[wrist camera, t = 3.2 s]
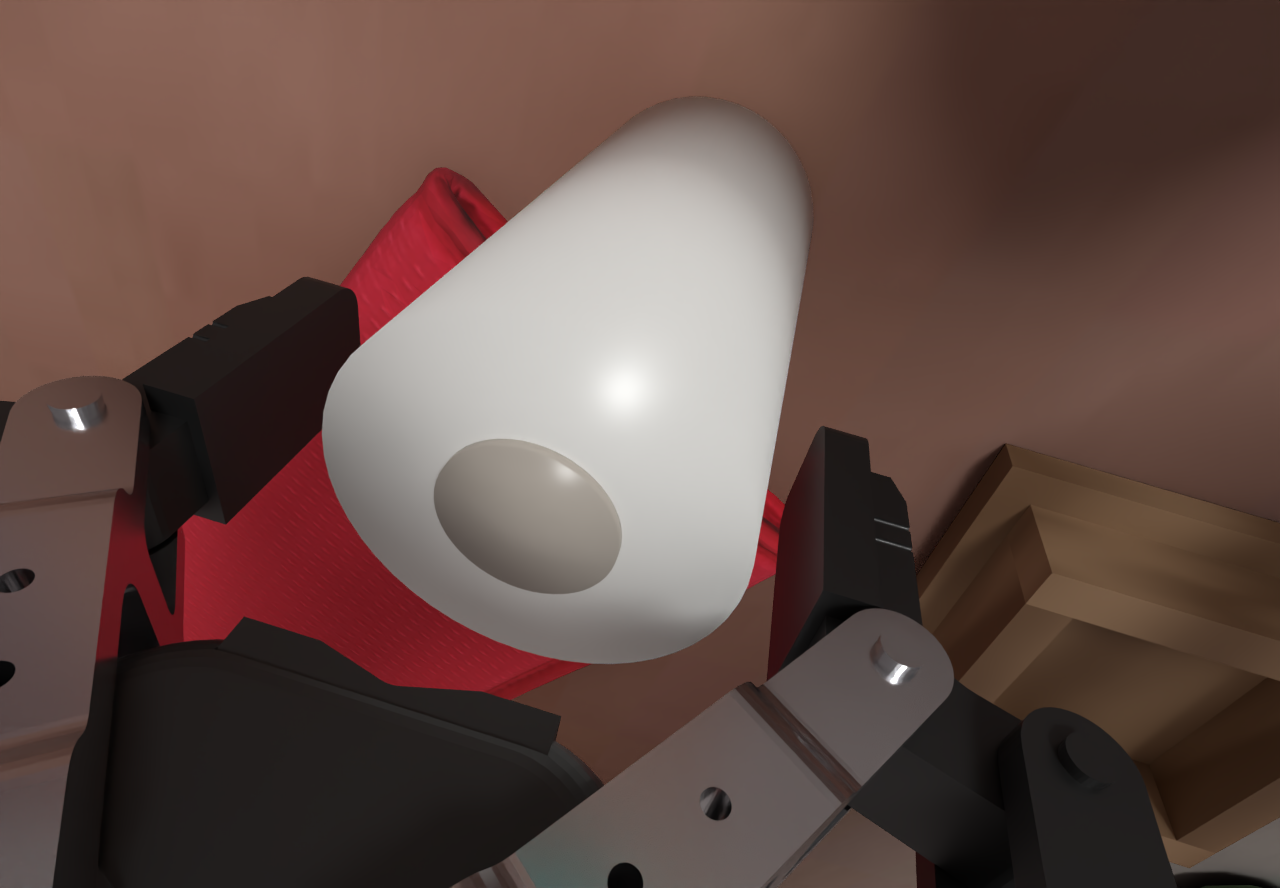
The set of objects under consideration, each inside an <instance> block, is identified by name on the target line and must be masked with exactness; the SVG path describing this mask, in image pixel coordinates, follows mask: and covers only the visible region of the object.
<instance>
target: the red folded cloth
mask: <svg viewBox="0 0 1280 888" xmlns="http://www.w3.org/2000/svg"><path fill="white" fill-rule="evenodd" d="M507 222H508V221H507V220H506V219H505V218H504V217H503V216H502V215H501V214H500V213H499V212H498V210H497V209H496V208H495V207H494V206H493V205H492V204H491V203H490V202H489V200H488V199H487V198H486V197H485V196H484V195H483V194H482V193H481V191H480V190H479V189H478V188H477V187H476V186H475V185H474V184H473V183H472V182H471V181H469V180H468V179H466V178H465V177H464V176H462V175H460V174H458V173H456V172H454V171H452V170H450V169H448V168H435V169H434V170H433V171H432V172H430V173H429V174H428V175H427V177H426V179H425V180H424V182H423V184H422V185H421V187H420V188H419V189H418V191H417V192H416V193H415V194H414V195H413V196H411V197H410V198H409V199H408V200H407V201H406V202H405V203H404V204H403V205H402V206H401V207H400V208H399V209H398V210H397V211H396V212H395V213H394V214H393V216H392V217H391V219H390V220H389V221H388V223H387V224H386V225H385V226H384V227H383V228H382V229H381V230H380V232H379V233H378V235H377V236H376V237H375V239H374V240H373V242H372V243H371V244H370V246H369V247H368V249H367V250H366V251H365V253H364V254H363V255H362V257H361V258H360V259H359V261H358V262H357V263H356V265H355V266H354V267H353V269H352V270H351V271H350V273H349V274H348V275H347V277H346V278H345V279H344V281H343V282H342V283H341V285H340V286H342V287H345V288H349V289H351V290H352V291H353V292H354V293H355V295H356V297H357V301H358V313H359V328H360V343H361V345H362V344H364V343H365V342H366V341H367V340H368V339H369V338H370V337H372V336H373V335H374V334H375V333H376V332H378V331H379V330H380V329H381V328H382V327H384V326H385V325H386V324H387V323H388V322H390V321H391V320H392V319H393V318H394V317H395V316H397V315H398V314H399V313H400V312H401V311H403V310H404V309H405V308H406V307H407V306H409V305H410V304H411V303H412V302H413V301H415V300H416V299H417V298H418V297H419V296H420V295H422V294H423V293H424V292H425V291H426V290H428V289H429V288H430V287H431V286H432V285H434V284H435V283H436V282H437V281H438V280H439V279H441V278H442V277H443V276H444V275H445V274H447V273H448V272H449V271H450V270H451V269H453V268H454V267H455V266H456V265H457V264H459V263H460V262H461V261H462V260H463V259H464V258H466V257H467V256H468V255H469V254H470V253H472V252H473V251H474V250H475V249H476V248H478V247H479V246H480V245H481V244H482V243H484V242H485V241H486V240H487V239H488V238H489V237H491V236H492V235H493V234H494V233H495V232H497V231H498V230H499V229H500V228H501V227H503V226H504V225H505V224H506V223H507ZM784 507H785V504H783V503H782V502H781V501H780V500H779V499H778V498H777V497H776V496H775V495H774V494H773V493H771V492H770V491H769V490H768V489H767V494H766V500H765V505H764V511H763V517H762V522H761V528H760V534H759V539H758V545H757V551H756V557H755V562H754V567H753V570H752V574H751V577H750V581H749V584H748V586H747V588H746V589H748V588H750V587H752V586H754V585H755V584H757V583H759V582H761V581H763V580H765V579H767V578H769V577H771V576H773V575H775V574H776V563H777V551H778V539H779V528H780V523H781V518H782V514H783V510H784ZM182 529H183V532H184V535H185V574H184V620H183V635H184V642H186V641H193V640H211V639H223V640H224V639H225V638H226V637H227V636H228V635H229V634H230V632H231V631H232V630H233V629H234V628H235V626H236V625H237V624H238V623H239V622H240V621H241V619H242V618H243V617H244V616H245V617H248V618H251V619H254V620H257V621H261V622H264V623H267V624H270V625H273V626H276V627H280V628H283V629H286V630H289V631H292V632H295V633H299V634H302V635H305V636H308V637H311V638H314V639H318V640H321V641H322V642H324V643H325V644H327V645H328V646H330V647H331V648H333V649H334V650H336V651H338V652H339V653H341V654H342V655H344V656H345V657H347V658H348V659H350V660H351V661H353V662H354V663H356V664H357V665H359V666H361V667H362V668H364V669H365V670H367V671H368V672H370V673H371V674H373V675H374V676H376V677H377V678H379V679H380V680H382V681H384V682H386V683H388V684H391V685H396V686H408V687H423V688H439V689H454V690H469V691H482V692H486V693H489V694H492V695H495V696H498V697H501V698H505V699H508V700H511V699H513V698H516V697H518V696H520V695H522V694H524V693H526V692H528V691H530V690H532V689H535V688H537V687H539V686H541V685H544V684H546V683H548V682H550V681H553V680H555V679H557V678H559V677H562V676H564V675H566V674H569V673H571V672H573V671H576V670H578V669H580V668H583V667H585V666H588V665H590V664H591V663H580V662H572V661H564V660H559V659H554V658H549V657H544V656H540V655H537V654H533V653H530V652H526V651H523V650H519V649H516V648H514V647H511V646H508V645H505V644H503V643H500V642H497V641H495V640H493V639H490V638H488V637H486V636H484V635H482V634H479V633H477V632H475V631H473V630H471V629H469V628H467V627H466V626H464V625H462V624H460V623H458V622H456V621H455V620H453V619H451V618H450V617H448V616H446V615H445V614H443V613H442V612H440V611H439V610H437V609H436V608H434V607H432V606H431V605H430V604H428V603H427V602H426V601H424V600H423V599H422V598H420V597H419V596H418V595H416V594H415V593H414V592H412V591H411V590H410V589H409V588H408V587H407V586H405V585H404V584H403V583H402V582H401V581H400V580H399V579H398V578H396V577H395V576H394V575H393V574H392V573H391V572H390V571H389V570H388V569H387V568H386V567H385V566H384V565H383V564H382V562H381V561H380V560H379V559H378V558H377V557H376V556H375V555H374V554H373V552H372V551H371V550H370V549H369V547H368V546H367V545H366V544H365V542H364V541H363V540H362V539H361V537H360V536H359V534H358V533H357V531H356V530H355V528H354V527H353V525H352V524H351V522H350V521H349V519H348V518H347V516H346V514H345V512H344V510H343V508H342V506H341V504H340V502H339V500H338V498H337V496H336V493H335V491H334V488H333V486H332V483H331V480H330V478H329V474H328V470H327V466H326V462H325V458H324V451H323V441H322V430H321V431H320V432H319V433H318V434H317V435H316V436H315V437H314V438H313V439H312V440H311V441H310V442H309V443H308V444H307V445H306V446H305V447H304V448H303V449H302V450H301V451H300V452H299V453H298V454H297V455H296V456H295V457H294V458H293V459H292V460H291V461H290V462H289V463H288V464H287V465H286V466H285V467H284V468H283V469H282V470H281V471H280V472H279V473H278V474H277V475H276V476H275V477H274V478H273V479H272V480H271V481H270V482H269V483H268V484H267V485H266V486H264V487H263V488H262V489H261V490H260V491H259V492H258V493H257V494H256V495H255V496H254V497H253V498H252V499H251V500H250V501H249V502H248V503H247V504H246V505H245V506H244V507H243V508H242V509H241V510H240V511H239V512H238V513H237V514H236V515H235V516H234V517H233V518H232V519H231V520H230V521H229V522H228V523H227V524H226V525H225V524H222V523H219V522H215V521H212V520H209V519H206V518H202V517H199V516H196V515H193V516H192V517H191V518H190V519H189V520H187V521H186V522H185V523H184V524H183V525H182Z"/></svg>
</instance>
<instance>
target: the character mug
mask: <svg viewBox="0 0 1280 888" xmlns="http://www.w3.org/2000/svg"><path fill="white" fill-rule="evenodd" d="M1202 888H1261V887H1257V886H1252V885H1227V886H1205V887H1202Z"/></svg>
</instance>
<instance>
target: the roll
mask: <svg viewBox="0 0 1280 888" xmlns="http://www.w3.org/2000/svg"><path fill="white" fill-rule="evenodd" d="M813 221H814V216H813V200H812V193H811V188H810V185H809V181H808V178H807V175H806V172H805V170H804V168H803V165H802V163H801V161H800V159H799V157H798V156H797V154H796V152H795V151H794V149H793V148H792V146H791V145H790V143H789V142H788V141H787V140H786V139H785V137H784V136H783V135H782V134H781V133H780V132H779V131H778V130H777V129H776V128H775V127H774V126H773V125H772V124H770V123H769V122H768V121H767V120H765V119H764V118H762V117H761V116H759V115H758V114H756V113H755V112H753V111H751V110H749V109H747V108H745V107H743V106H741V105H739V104H736V103H733V102H729V101H726V100H723V99H717V98H711V97H683V98H676V99H672V100H668V101H665V102H661V103H658V104H656V105H654V106H652V107H649V108H647V109H645V110H643V111H642V112H640V113H639V114H637V115H636V116H634V117H632V118H631V119H630V120H629V121H627V122H626V123H625V124H624V125H623V126H622V127H620V128H619V129H618V130H617V131H616V132H614V133H613V134H612V135H611V136H610V137H608V138H607V139H606V140H605V141H604V142H602V143H601V144H600V145H599V146H598V147H597V148H595V149H594V150H593V151H592V152H591V153H589V154H588V155H587V156H586V157H585V158H583V159H582V160H581V161H580V162H579V163H578V164H576V165H575V166H574V167H573V168H572V169H570V170H569V171H568V172H567V173H566V174H564V175H563V176H562V177H561V178H560V179H558V180H557V181H556V182H555V183H554V184H553V185H551V186H550V187H549V188H548V189H547V190H545V191H544V192H543V193H542V194H541V195H539V196H538V197H537V198H536V199H535V200H533V201H532V202H531V203H530V204H529V205H528V206H526V207H525V208H524V209H523V210H522V211H520V212H519V213H518V214H517V215H516V216H514V217H513V218H512V219H511V220H510V221H508V222H507V223H506V224H505V225H504V226H503V227H501V228H500V229H499V230H498V231H497V232H495V233H494V234H493V235H492V236H491V237H489V238H488V239H487V240H486V241H485V242H484V243H482V244H481V245H480V246H479V247H478V248H476V249H475V250H474V251H473V252H472V253H470V254H469V255H468V256H467V257H466V258H464V259H463V260H462V261H461V262H460V263H459V264H457V265H456V266H455V267H454V268H453V269H451V270H450V271H449V272H448V273H447V274H445V275H444V276H443V277H442V278H441V279H439V280H438V281H437V282H436V283H435V284H434V285H432V286H431V287H430V288H429V289H428V290H426V291H425V292H424V293H423V294H422V295H420V296H419V297H418V298H417V299H416V300H415V301H413V302H412V303H411V304H410V305H409V306H407V307H406V308H405V309H404V310H403V311H401V312H400V313H399V314H398V315H397V316H395V317H394V318H393V319H392V320H391V321H390V322H388V323H387V324H386V325H385V326H384V327H382V328H381V329H380V330H379V331H378V332H376V333H375V334H374V335H373V336H372V337H370V338H369V339H368V340H367V341H366V342H365V343H364V344H362V345H361V346H360V347H359V348H358V349H357V350H356V351H355V352H353V353H352V354H351V355H350V357H349V358H348V359H347V361H346V362H345V363H344V365H343V366H342V367H341V369H340V370H339V371H338V373H337V375H336V377H335V379H334V381H333V383H332V385H331V388H330V390H329V392H328V396H327V400H326V404H325V408H324V411H323V424H322V441H323V451H324V458H325V462H326V466H327V470H328V474H329V478H330V480H331V483H332V486H333V488H334V491H335V493H336V496H337V498H338V500H339V502H340V504H341V506H342V508H343V510H344V512H345V514H346V516H347V518H348V519H349V521H350V522H351V524H352V525H353V527H354V528H355V530H356V531H357V533H358V534H359V536H360V537H361V539H362V540H363V541H364V542H365V544H366V545H367V546H368V547H369V549H370V550H371V551H372V552H373V554H374V555H375V556H376V557H377V558H378V559H379V560H380V561H381V562H382V564H383V565H384V566H385V567H386V568H387V569H388V570H389V571H390V572H391V573H392V574H393V575H394V576H395V577H396V578H398V579H399V580H400V581H401V582H402V583H403V584H404V585H405V586H407V587H408V588H409V589H410V590H411V591H412V592H414V593H415V594H416V595H418V596H419V597H420V598H422V599H423V600H424V601H426V602H427V603H428V604H430V605H431V606H432V607H434V608H436V609H437V610H439V611H440V612H442V613H443V614H445V615H446V616H448V617H450V618H451V619H453V620H455V621H456V622H458V623H460V624H462V625H464V626H466V627H467V628H469V629H471V630H473V631H475V632H477V633H479V634H482V635H484V636H486V637H488V638H490V639H493V640H495V641H497V642H500V643H503V644H505V645H508V646H511V647H514V648H516V649H519V650H523V651H526V652H530V653H533V654H537V655H540V656H544V657H549V658H554V659H559V660H564V661H572V662H580V663H591V664H619V663H633V662H639V661H645V660H650V659H656V658H659V657H662V656H666V655H669V654H672V653H676V652H678V651H680V650H682V649H684V648H687V647H689V646H691V645H693V644H695V643H697V642H698V641H700V640H701V639H703V638H704V637H706V636H708V635H709V634H711V633H712V632H713V631H714V630H715V629H716V628H718V627H719V626H720V625H721V624H722V623H723V622H724V621H725V620H726V619H727V618H728V617H729V616H730V614H731V613H732V612H733V610H734V609H735V608H736V606H737V605H738V604H739V602H740V600H741V598H742V596H743V594H744V592H745V590H746V588H747V586H748V584H749V581H750V577H751V574H752V570H753V567H754V562H755V557H756V551H757V545H758V539H759V534H760V528H761V522H762V517H763V511H764V505H765V500H766V494H767V488H768V482H769V477H770V471H771V465H772V460H773V454H774V448H775V443H776V437H777V431H778V425H779V420H780V414H781V408H782V403H783V397H784V391H785V386H786V380H787V374H788V368H789V363H790V357H791V351H792V346H793V340H794V334H795V329H796V323H797V317H798V311H799V306H800V300H801V294H802V289H803V283H804V277H805V271H806V266H807V260H808V254H809V249H810V243H811V237H812V230H813Z"/></svg>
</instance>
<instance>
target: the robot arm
mask: <svg viewBox="0 0 1280 888" xmlns="http://www.w3.org/2000/svg"><path fill="white" fill-rule="evenodd" d="M360 346H361V343H360V328H359V313H358V301H357V297H356V295H355V293H354V292H353V291H352V290H351V289H349V288H345V287H342V286H338V285H335V284H331V283H328V282H324V281H321V280H317V279H314V278H310V277H303V278H301V279H299V280H297V281H296V282H294V283H293V284H291V285H290V286H288V287H287V288H285V289H284V290H282V291H281V292H279V293H278V294H276V295H275V296H273V297H270V296H268V297H264V298H261V299H258V300H255V301H251V302H248V303H245V304H242V305H238V306H236V307H234V308H233V309H231V310H230V311H228V312H227V313H225V314H223V315H222V316H220V317H219V318H217V319H216V320H214V321H213V324H212V325H209V324H208V325H206V326H205V327H203V328H202V329H200V330H199V331H197V332H195V333H194V334H193V338H190V337H188V338H186V339H185V340H183V341H181V342H180V343H178V344H177V345H175V346H174V347H172V348H170V349H169V350H167V351H166V352H164V353H163V354H161V355H160V356H158V357H156V358H155V359H153V360H152V361H150V362H149V363H147V364H146V365H144V366H142V367H141V368H139V369H138V370H136V371H135V372H133V373H132V374H130V375H128V376H127V377H125V378H124V379H122V380H120V379H117V378H112V377H106V376H80V377H72V378H66V379H61V380H58V381H54V382H50V383H48V384H45V385H42V386H40V387H38V388H36V389H33V390H31V391H30V392H28V393H27V394H25V395H23V396H22V397H21V398H20V399H19V400H17V401H16V402H8V401H0V888H777V887H778V886H779V885H780V884H781V883H782V882H783V881H784V880H785V879H786V878H787V877H788V876H789V875H790V874H791V872H792V871H793V870H794V869H795V868H796V867H797V866H798V865H799V864H800V863H801V862H802V861H803V860H804V859H805V858H806V857H807V856H808V854H809V853H810V852H811V851H812V850H813V849H814V848H815V847H816V846H817V845H818V844H819V843H820V842H821V841H822V840H823V839H824V838H825V836H826V835H827V834H828V833H829V832H830V831H831V830H832V829H833V828H834V827H835V826H836V825H837V824H838V823H839V822H840V821H841V820H842V818H843V817H844V816H845V815H846V814H847V813H848V812H849V811H850V810H851V809H852V808H853V809H854V810H856V811H857V812H859V813H860V814H862V815H863V816H865V817H866V818H868V819H869V820H870V821H872V822H873V823H875V824H876V825H878V826H879V827H881V828H882V829H884V830H885V831H887V832H888V833H890V834H891V835H893V836H894V837H895V838H897V839H898V840H900V841H901V842H903V843H904V844H906V845H907V846H909V847H910V848H912V849H913V850H915V851H916V874H917V888H1177V885H1176V882H1175V879H1174V876H1173V873H1172V869H1171V866H1170V863H1169V860H1168V856H1167V853H1166V850H1165V847H1164V844H1163V840H1162V837H1161V834H1160V831H1159V827H1158V824H1157V821H1156V818H1155V815H1154V811H1153V808H1152V805H1151V802H1150V798H1149V795H1148V792H1147V789H1146V786H1145V783H1144V781H1143V778H1142V776H1141V774H1140V772H1139V770H1138V768H1137V767H1136V765H1135V764H1134V762H1133V761H1132V759H1131V758H1130V756H1129V755H1128V754H1127V753H1126V751H1125V750H1124V749H1123V748H1122V747H1121V746H1120V745H1119V744H1118V743H1117V742H1116V741H1115V740H1114V739H1113V738H1112V737H1111V736H1110V735H1109V734H1108V733H1106V732H1105V731H1104V730H1103V729H1102V728H1100V727H1099V726H1097V725H1096V724H1094V723H1093V722H1091V721H1090V720H1088V719H1086V718H1084V717H1082V716H1081V715H1078V714H1076V713H1074V712H1071V711H1068V710H1064V709H1061V708H1054V707H1044V708H1039V709H1036V710H1034V711H1032V712H1031V713H1029V714H1028V715H1027V716H1026V717H1025V718H1024V719H1023V720H1020V719H1018V718H1016V717H1015V716H1013V715H1011V714H1010V713H1008V712H1006V711H1004V710H1003V709H1001V708H999V707H998V706H996V705H994V704H993V703H991V702H989V701H987V700H986V699H984V698H982V697H981V696H979V695H977V694H976V693H974V692H973V691H971V690H969V689H968V688H966V687H965V686H964V685H962V684H961V683H960V682H959V681H957V680H956V679H955V678H954V673H953V668H952V664H951V661H950V659H949V657H948V655H947V653H946V651H945V650H944V648H943V647H942V645H941V644H940V643H939V642H938V640H937V639H936V638H935V637H934V636H933V635H932V634H931V633H930V632H929V631H928V630H927V629H925V628H924V627H923V624H922V617H921V609H920V602H919V594H918V587H917V579H916V572H915V564H914V557H913V552H911V549H912V542H911V534H910V532H909V531H908V530H909V519H908V512H907V504H906V501H905V500H904V498H903V497H902V495H901V493H900V492H899V490H898V489H897V487H896V485H895V484H894V482H893V481H892V479H891V478H890V477H887V476H883V475H880V474H876V473H873V472H871V469H870V456H869V444H868V440H867V439H866V438H863V437H859V436H856V435H852V434H849V433H845V432H842V431H838V430H835V429H831V428H828V427H825V426H822V427H820V428H819V430H818V431H817V433H816V435H815V437H814V439H813V442H812V444H811V446H810V448H809V450H808V453H807V455H806V457H805V459H804V462H803V464H802V466H801V468H800V471H799V473H798V475H797V477H796V480H795V482H794V484H793V486H792V488H791V491H790V493H789V495H788V498H787V501H786V504H785V507H784V510H783V514H782V518H781V523H780V528H779V539H778V551H777V563H776V576H775V588H774V600H773V612H772V624H771V636H770V648H769V660H768V672H767V682H765V683H764V684H763V685H761V686H759V687H757V688H756V687H755V685H754V684H753V683H751V682H746V683H743V684H741V685H739V686H738V687H736V688H734V689H733V690H732V691H730V692H729V693H727V694H726V695H725V696H723V697H722V698H721V699H719V700H718V701H717V702H715V703H714V704H713V705H711V706H710V707H709V708H707V709H706V710H705V711H703V712H702V713H701V714H699V715H698V716H697V717H695V718H694V719H693V720H691V721H690V722H689V723H687V724H686V725H685V726H683V727H682V728H681V729H679V730H678V731H677V732H675V733H674V734H673V735H671V736H670V737H669V738H667V739H666V740H665V741H663V742H662V743H660V744H659V745H658V746H656V747H655V748H654V749H652V750H651V751H650V752H648V753H647V754H646V755H644V756H643V757H642V758H640V759H639V760H638V761H636V762H635V763H634V764H632V765H631V766H630V767H628V768H627V769H626V770H624V771H623V772H622V773H620V774H619V775H618V776H616V777H615V778H614V779H612V780H611V781H610V782H608V783H607V784H606V785H604V784H603V783H602V782H601V780H600V779H599V778H598V777H597V776H596V775H595V774H594V772H593V771H592V770H591V769H590V768H589V767H588V766H587V765H586V764H585V763H584V762H583V761H582V760H580V759H579V758H578V757H577V756H576V755H574V754H573V753H572V752H571V751H570V750H568V749H567V748H565V747H564V746H562V745H561V744H559V743H557V742H556V736H557V732H558V728H559V723H560V719H561V716H558V715H555V714H552V713H549V712H546V711H543V710H539V709H536V708H533V707H530V706H527V705H524V704H520V703H517V702H514V701H511V700H508V699H505V698H501V697H498V696H495V695H492V694H489V693H486V692H482V691H469V690H454V689H439V688H423V687H408V686H396V685H391V684H388V683H386V682H384V681H382V680H380V679H379V678H377V677H376V676H374V675H373V674H371V673H370V672H368V671H367V670H365V669H364V668H362V667H361V666H359V665H357V664H356V663H354V662H353V661H351V660H350V659H348V658H347V657H345V656H344V655H342V654H341V653H339V652H338V651H336V650H334V649H333V648H331V647H330V646H328V645H327V644H325V643H324V642H322V641H321V640H318V639H314V638H311V637H308V636H305V635H302V634H299V633H295V632H292V631H289V630H286V629H283V628H280V627H276V626H273V625H270V624H267V623H264V622H261V621H257V620H254V619H251V618H248V617H245V616H244V617H243V618H242V619H241V621H240V622H239V623H238V624H237V625H236V626H235V628H234V629H233V630H232V631H231V632H230V634H229V635H228V636H227V637H226V638H225V639H224V640H223V639H211V640H193V641H186V642H184V635H183V620H184V574H185V535H184V532H183V529H182V525H183V524H184V523H185V522H186V521H187V520H189V519H190V518H191V517H192V516H193V515H196V516H199V517H202V518H206V519H209V520H212V521H215V522H219V523H222V524H225V525H226V524H227V523H228V522H229V521H230V520H231V519H232V518H233V517H234V516H235V515H236V514H237V513H238V512H239V511H240V510H241V509H242V508H243V507H244V506H245V505H246V504H247V503H248V502H249V501H250V500H251V499H252V498H253V497H254V496H255V495H256V494H257V493H258V492H259V491H260V490H261V489H262V488H263V487H264V486H266V485H267V484H268V483H269V482H270V481H271V480H272V479H273V478H274V477H275V476H276V475H277V474H278V473H279V472H280V471H281V470H282V469H283V468H284V467H285V466H286V465H287V464H288V463H289V462H290V461H291V460H292V459H293V458H294V457H295V456H296V455H297V454H298V453H299V452H300V451H301V450H302V449H303V448H304V447H305V446H306V445H307V444H308V443H309V442H310V441H311V440H312V439H313V438H314V437H315V436H316V435H317V434H318V433H319V432H320V431H321V430H322V424H323V411H324V408H325V404H326V400H327V396H328V392H329V390H330V388H331V385H332V383H333V381H334V379H335V377H336V375H337V373H338V371H339V370H340V369H341V367H342V366H343V365H344V363H345V362H346V361H347V359H348V358H349V357H350V355H351V354H352V353H353V352H355V351H356V350H357V349H358V348H359V347H360Z"/></svg>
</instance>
